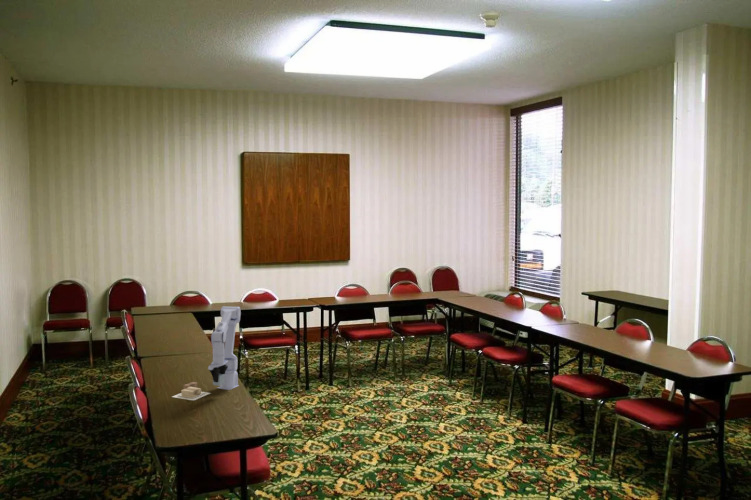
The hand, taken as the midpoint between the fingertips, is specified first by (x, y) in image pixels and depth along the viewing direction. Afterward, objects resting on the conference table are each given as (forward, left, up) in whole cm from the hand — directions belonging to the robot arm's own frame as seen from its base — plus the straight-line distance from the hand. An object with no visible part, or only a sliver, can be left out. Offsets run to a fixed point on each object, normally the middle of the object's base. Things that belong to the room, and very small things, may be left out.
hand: (218, 380), depth 327 cm
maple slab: (+4, -14, -8) cm, 17 cm away
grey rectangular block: (0, 0, -2) cm, 2 cm away
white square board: (+4, -14, -8) cm, 17 cm away
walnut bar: (-4, -21, -8) cm, 23 cm away
